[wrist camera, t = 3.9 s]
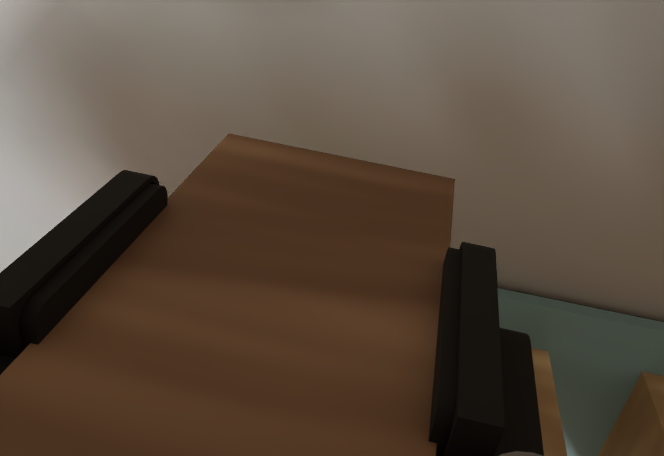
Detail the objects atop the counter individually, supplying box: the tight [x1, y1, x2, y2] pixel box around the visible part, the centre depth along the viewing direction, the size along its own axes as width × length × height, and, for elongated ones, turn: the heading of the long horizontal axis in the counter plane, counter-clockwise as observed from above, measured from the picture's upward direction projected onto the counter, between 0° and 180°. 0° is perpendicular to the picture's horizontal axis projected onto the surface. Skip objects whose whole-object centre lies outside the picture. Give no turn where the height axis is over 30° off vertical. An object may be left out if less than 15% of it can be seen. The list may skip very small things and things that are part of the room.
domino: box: [0, 134, 455, 456], centre depth 10 cm, size 2×5×10 cm, turn 82°
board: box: [498, 288, 664, 456], centre depth 22 cm, size 24×8×1 cm, turn 83°
